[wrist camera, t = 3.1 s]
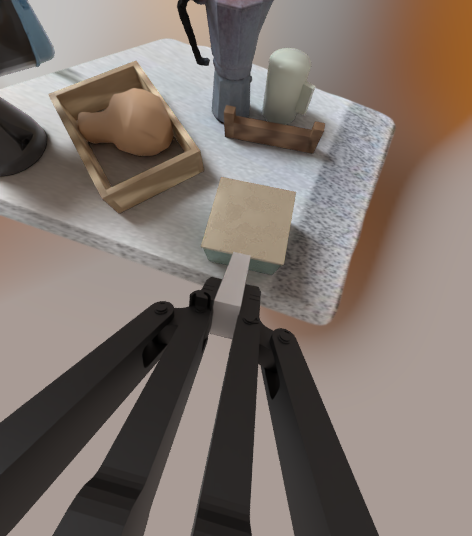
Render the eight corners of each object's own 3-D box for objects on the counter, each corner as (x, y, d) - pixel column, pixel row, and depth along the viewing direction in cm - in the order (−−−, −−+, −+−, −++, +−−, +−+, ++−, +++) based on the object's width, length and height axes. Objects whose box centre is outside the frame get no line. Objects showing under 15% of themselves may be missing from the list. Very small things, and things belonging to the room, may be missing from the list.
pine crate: (68, 119, 43) (48, 94, 38) (146, 87, 46) (136, 60, 41) (118, 213, 37) (101, 198, 32) (204, 170, 40) (200, 150, 35)
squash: (177, 165, 40) (152, 133, 31) (97, 166, 43) (53, 137, 35) (183, 117, 41) (159, 72, 32) (103, 121, 44) (62, 81, 35)
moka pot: (266, 121, 44) (293, -34, 24) (201, 133, 42) (174, -20, 23) (256, 92, 46) (272, -72, 26) (193, 102, 45) (163, -61, 25)
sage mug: (255, 114, 44) (260, 64, 35) (274, 94, 46) (284, 42, 37) (291, 135, 43) (306, 89, 34) (310, 114, 44) (329, 65, 36)
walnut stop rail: (224, 136, 42) (223, 112, 37) (227, 129, 43) (226, 104, 38) (313, 153, 41) (324, 131, 36) (314, 146, 42) (325, 123, 37)
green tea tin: (208, 261, 35) (200, 246, 27) (223, 205, 38) (221, 176, 30) (272, 276, 35) (283, 264, 27) (283, 217, 38) (296, 192, 30)
